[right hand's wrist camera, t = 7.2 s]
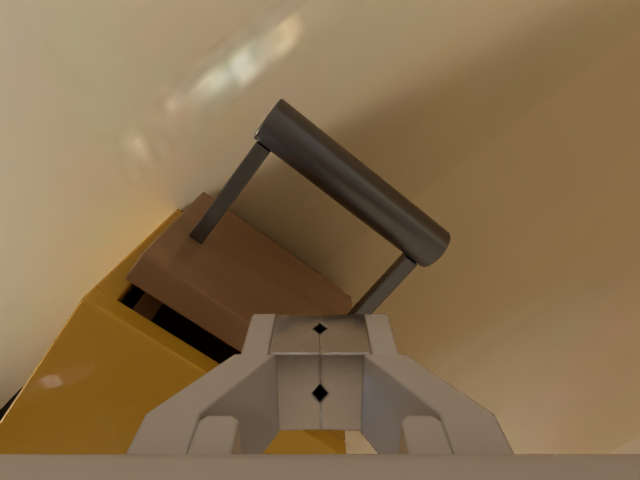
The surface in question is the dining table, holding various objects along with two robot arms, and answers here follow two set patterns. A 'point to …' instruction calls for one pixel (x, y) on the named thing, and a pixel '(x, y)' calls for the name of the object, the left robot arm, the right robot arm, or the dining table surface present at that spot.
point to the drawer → (272, 246)
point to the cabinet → (116, 378)
